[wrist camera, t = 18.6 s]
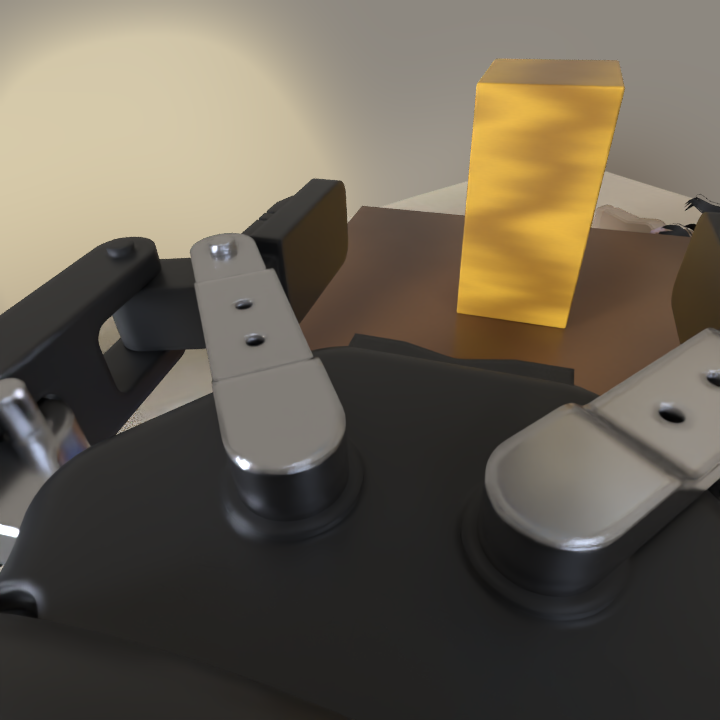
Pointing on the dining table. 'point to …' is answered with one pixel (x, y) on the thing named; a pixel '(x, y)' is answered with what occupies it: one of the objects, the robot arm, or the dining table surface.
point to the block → (534, 184)
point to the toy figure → (646, 220)
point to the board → (489, 335)
